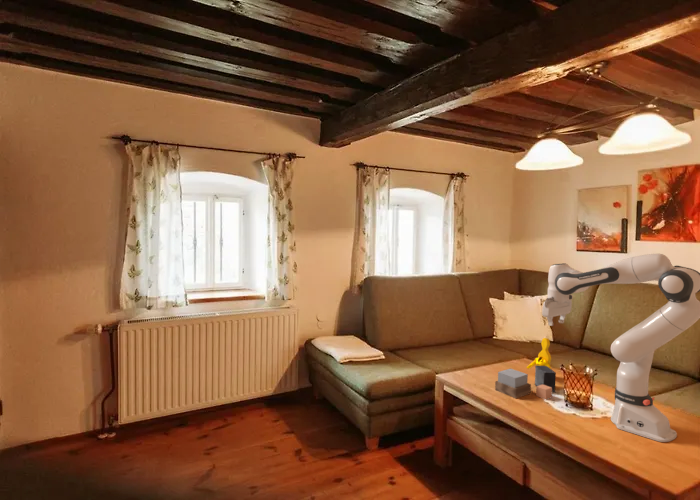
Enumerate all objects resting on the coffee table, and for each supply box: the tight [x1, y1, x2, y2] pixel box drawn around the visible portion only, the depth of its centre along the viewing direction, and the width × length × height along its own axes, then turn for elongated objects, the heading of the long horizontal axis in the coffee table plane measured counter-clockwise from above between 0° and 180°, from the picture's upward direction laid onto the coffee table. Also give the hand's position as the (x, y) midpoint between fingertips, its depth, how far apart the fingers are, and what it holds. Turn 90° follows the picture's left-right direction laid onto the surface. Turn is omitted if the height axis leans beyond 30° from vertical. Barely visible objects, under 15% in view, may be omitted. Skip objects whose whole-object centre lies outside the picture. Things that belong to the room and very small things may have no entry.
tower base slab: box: [494, 380, 532, 399], centre depth 206 cm, size 12×12×5 cm
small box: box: [534, 365, 557, 393], centre depth 210 cm, size 11×6×10 cm, turn 179°
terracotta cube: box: [535, 384, 553, 400], centre depth 200 cm, size 5×5×5 cm
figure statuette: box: [526, 337, 553, 370], centre depth 225 cm, size 18×8×22 cm, turn 29°
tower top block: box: [497, 368, 529, 388], centre depth 206 cm, size 10×10×5 cm
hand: (556, 324), depth 198 cm, fingers open, 8 cm apart
